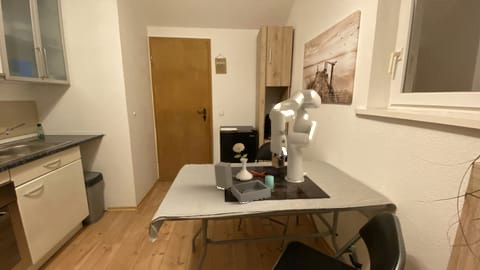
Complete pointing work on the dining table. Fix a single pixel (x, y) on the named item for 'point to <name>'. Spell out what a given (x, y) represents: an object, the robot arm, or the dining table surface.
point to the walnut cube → (276, 161)
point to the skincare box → (223, 175)
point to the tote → (251, 191)
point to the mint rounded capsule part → (269, 181)
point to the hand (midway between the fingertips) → (278, 164)
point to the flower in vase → (244, 173)
